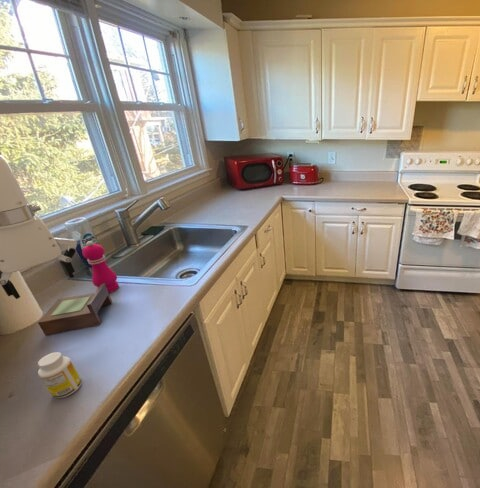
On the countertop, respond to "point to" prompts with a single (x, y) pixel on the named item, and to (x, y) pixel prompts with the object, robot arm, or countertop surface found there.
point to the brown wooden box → (75, 312)
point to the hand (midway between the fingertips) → (44, 285)
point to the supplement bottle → (59, 375)
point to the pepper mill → (100, 267)
